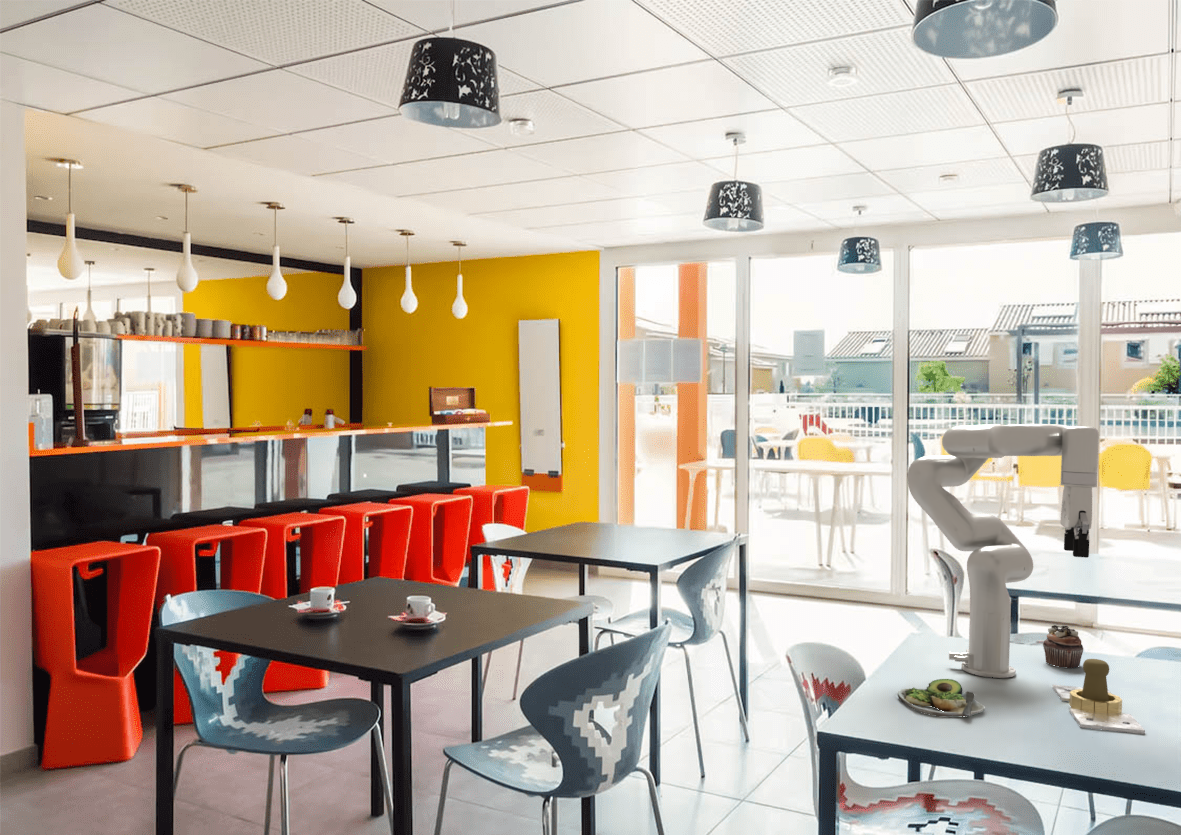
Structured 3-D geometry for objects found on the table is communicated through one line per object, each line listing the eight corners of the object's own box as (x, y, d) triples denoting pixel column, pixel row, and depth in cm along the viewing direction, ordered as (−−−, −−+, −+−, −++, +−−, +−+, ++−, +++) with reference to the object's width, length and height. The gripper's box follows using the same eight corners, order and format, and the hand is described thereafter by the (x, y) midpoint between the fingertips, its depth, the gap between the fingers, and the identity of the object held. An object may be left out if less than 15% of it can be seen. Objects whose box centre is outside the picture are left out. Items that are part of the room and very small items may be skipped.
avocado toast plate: (1005, 723, 204) (1006, 702, 204) (922, 723, 204) (922, 701, 204) (966, 696, 224) (966, 676, 224) (890, 695, 223) (890, 675, 223)
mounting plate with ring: (1080, 727, 202) (1081, 713, 202) (1052, 687, 231) (1052, 675, 231) (1145, 734, 199) (1145, 719, 199) (1107, 693, 228) (1108, 680, 228)
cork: (1109, 715, 211) (1110, 665, 211) (1078, 710, 214) (1079, 660, 214) (1111, 708, 216) (1112, 659, 216) (1080, 703, 219) (1082, 654, 219)
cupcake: (1091, 668, 249) (1093, 629, 249) (1058, 669, 247) (1060, 630, 247) (1066, 658, 259) (1067, 621, 259) (1034, 660, 257) (1035, 622, 257)
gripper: (1053, 476, 233) (1051, 547, 233) (1068, 481, 216) (1066, 558, 216) (1088, 477, 231) (1085, 549, 231) (1106, 483, 214) (1103, 560, 214)
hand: (1076, 553), depth 224 cm, fingers open, 9 cm apart
